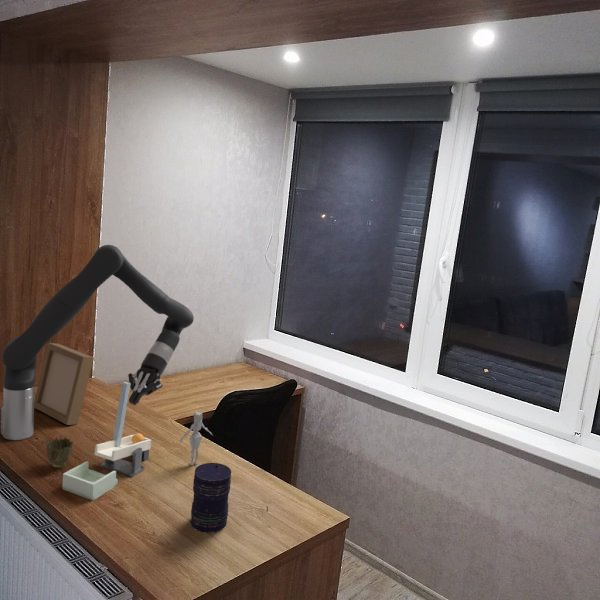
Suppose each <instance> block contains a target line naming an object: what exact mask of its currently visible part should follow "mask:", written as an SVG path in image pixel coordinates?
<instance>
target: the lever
mask: <svg viewBox="0 0 600 600" xmlns="http://www.w3.org/2000/svg"><path fill="white" fill-rule="evenodd" d="M130 385H131V383H129V381H128V382H127V381H123V382H122V383H121V389H120V396H119V400H118V407H117V411H116V419H115V424H114V431H113V435H112V439H113V440H112V439H111V440H112V441H110V440H107V441H105V442H102V443H101V442H100V443H98V444H95V449H94V456H97V457H100V458H102V459H104V460H105V459H108V460H111V461H115V460H118V459H123V458H127V457H131V455H133V451H134V450H136V449H138V448H139V447H140V448H142V451H145V450H148V449H149V450H151V449H152V442H153V439H150V438H148V437H144V436H143V437H144V440H143V441H142V442H139V443H135V444H134V443H133V442H132V437H133V436H134V435H135V434H136V433H134V434H130V435H127V436H123V431H124V425H125V420H126V414H127V408H128V402H129V398H130V396H129V395H130V390H131V388H130Z"/></svg>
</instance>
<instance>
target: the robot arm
mask: <svg viewBox="0 0 600 600" xmlns="http://www.w3.org/2000/svg"><path fill="white" fill-rule="evenodd" d="M112 276H114V277H115V278H117V279H118V280H120V281H121V282H122V283H123V284H125V285H126V287H128V288H129V289H130V290H131V291H132V292H133V293H134V294H135V295H136V296H137V298H139V300H141V302H143V303H144V304H145V305H147V306H148V308H150V309H151V310H152V311H153V312H155V313H157V314H159V315H165V316H167V317H166V319H165V321H164V324H163V326H162V329H161V331H160V333H159V335H158V336H157V338H156V340H155V341H154V344H152V346H151V347H150V348H149V350H148V351H147V353H146V355H145V357H144V359H143V361H142V362H141V364H140V368H139V369H138V370H136V372H134V373H132V372H130V373H128V375H127V377H128V383H131V385H130V390H131V391H132V393H131V395H130V396H129V397H128V402H129V404H130V405H133V406H136V405H137V404H138V403H139V402H140V400H141V398H142V397H143V396H149V395H151V394H153V393H154V392H156V391H157V390H160V389H161V388H163V384H162V382H161V381H160V380H161V376H162V375H163V373H164V372H165V370H166V368H167V366H168V365H169V363H170V361H171V359H172V357H173V354H174V353H175V350H176V349H177V347H178V346H179V345H178V344H179V343H180V339H181V338H180V335H181V333H182V331H183V330H184V329H186V328H188V327H190V326H191V325H192V324H193V322H194V315H193V312H192V311H191V309H190V308H189V307H187V306H186V305H184V304H182V303H181V302H179V301H177V299H176V300H175V299H174V298H171V297H170V296H169V295H167V293H166V292H164V291H163V290H162V289H161V288H159V286H157V285H156V284H154V283H153V282H152V281H151V280H149V278H147V277H146V276H144V274H142V273H141V272H140V271H139V270H138V269H136V267H135V266H133V264H132V263H131V262H129V260H128V258H126V256H125V255H124V254H123V253H122V252H121V250H120V249H119V247H117V246H114V245H112V244H105V245H102V246H100V247H98V248H97V249H96V251H94V254H93V255H92V257H91V258H90V260H89V261H88V262H87V263H86V264H85V266H84V267H83V268H82V270H81V271H80V272H79V273H78V274H77V275H76V276H75V277H74V278H73V279H71V280H70V281H68V282H67V283H65V284H64V285H63V287H61V288H60V289H59V290H58V291H57V292H56V293H55V294H54V295H53V296H52V297H51V298H50V299H49V300H47V301H48V302H47V303H46V304H45V305H44V306H43V308H42V309H41V310H40V311H39V313H38V314H37V315H36V317H35V318H34V320H33V321H32V322H31V324H30V325H29V327H28V328H27V329H26V330H25V331H23V333H22V334H20V335H19V336H18V337H14V338H12V339H11V340H10V341H9V342H8V343H7V345H5V347H4V349H3V351H2V356H1V358H2V359H1V360H2V363H3V364H4V366H5V372H4V377H3V398H2V399H3V402H2V403H3V406H2V407H1V408H0V435H2V437H3V438H4V439H6V440H10V441H20V440H25V439H28V438H30V437H32V436H33V435H34V425H35V422H34V420H35V408H34V400H35V385H36V384H35V382H36V381H35V379H36V375H37V373H36V372H37V355H38V354H39V352H40V351H41V350H42V349H43V348H44V347H45V345H46V344H47V343H49V341H50V340H51V339H52V338H53V337H54V336H56V335H57V334H58V333H59V332H61V330H62V329H63V328H64V327H65V326H66V325H67V324H68V323H70V322H71V321H72V320H73V319H74V317H75V316H76V315H78V313H80V311H81V310H82V309H83V308H84V306H85V305H87V302H88V301H89V300H90V299H91V297H92V296H93V294H94V293H95V292H96V290H98V288H99V287H100V286H101V285H103V284H104V283H105V282H106V281H107V280H108V279H110V278H111V277H112Z"/></svg>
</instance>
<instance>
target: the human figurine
mask: <svg viewBox="0 0 600 600" xmlns="http://www.w3.org/2000/svg"><path fill="white" fill-rule="evenodd" d="M202 428H203V429H204V430H205V431H206V432H208V433H210V435H211V436H213V433H212V432H211V431H210V430H209V429H208V427H205V425H204V423H203V412H198V411H196V412H194V413H193V423H192V424H191V425H190V427H189V428H188V429H189V430H188V431H186V432H185V434H184V435H183V436H182V437H179V438H180V440H178V441H179V443H182V442H183V440H184V438H186V437H187V436H188V435H189V433H190V432H191V431H192V433H191V435H190V438H189V443H190V447H191V451H190V452H191V454H190V458H191V459H190V462H188V465H189V466H191V467H192V466H193V467H194V465H195V466H197V465H198V458H199V448H200V445H201V442H202V439H203V437H202V434H201V433H200V432H199V431H201V429H202ZM194 458H195V459H194Z"/></svg>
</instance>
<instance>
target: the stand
mask: <svg viewBox="0 0 600 600" xmlns="http://www.w3.org/2000/svg"><path fill="white" fill-rule="evenodd" d="M112 440H113V438H111V439H110V440H109V441H112ZM130 457H131V458H132V462H130V461H128V460H124V459H123V458H121V459H118V460H115V461H111V460H108V459H105V458H104V462H101V464H100V467H101V468H104V469H106V470H108V471H109V470H110V471H111V472H112V471H116V473H118V474H121V475H124V476H127V477H130V478H134V477H135V476H137V475H138V474H140V473H141V472H143V471H144V470H146V469H145V468H146V467H145V466H142V462H145V461H147V460H149V457H150V449H148V450H145V451H142V448H140V447H139V448H138V449H136V450H134V451H133V455H130Z"/></svg>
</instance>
